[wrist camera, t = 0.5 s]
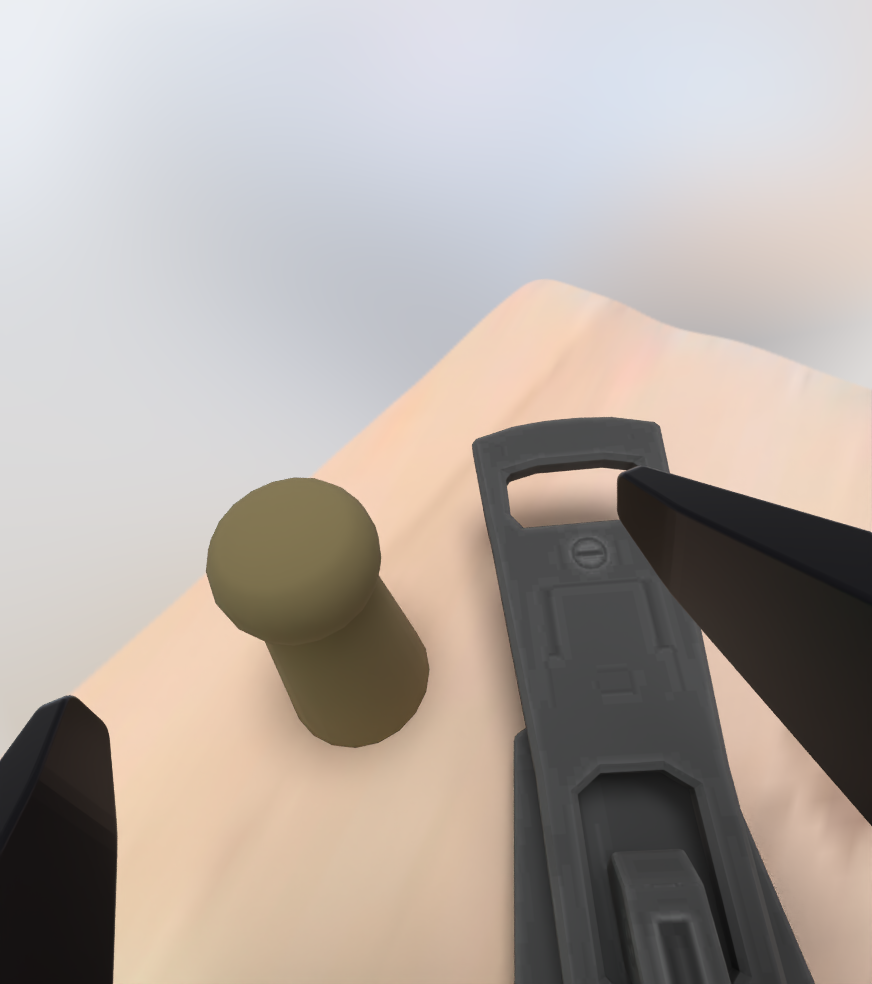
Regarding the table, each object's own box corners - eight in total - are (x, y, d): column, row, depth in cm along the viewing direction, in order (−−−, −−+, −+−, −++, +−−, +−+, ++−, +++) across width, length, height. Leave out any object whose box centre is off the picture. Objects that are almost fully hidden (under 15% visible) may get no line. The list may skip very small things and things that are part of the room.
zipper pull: (669, 404, 24) (1185, 1614, 8) (642, 502, 29) (923, 1358, 13) (456, 425, 24) (538, 1589, 9) (466, 517, 30) (530, 1353, 14)
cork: (456, 652, 25) (424, 494, 16) (370, 779, 22) (277, 666, 14) (352, 589, 27) (278, 424, 19) (262, 695, 25) (128, 556, 16)
